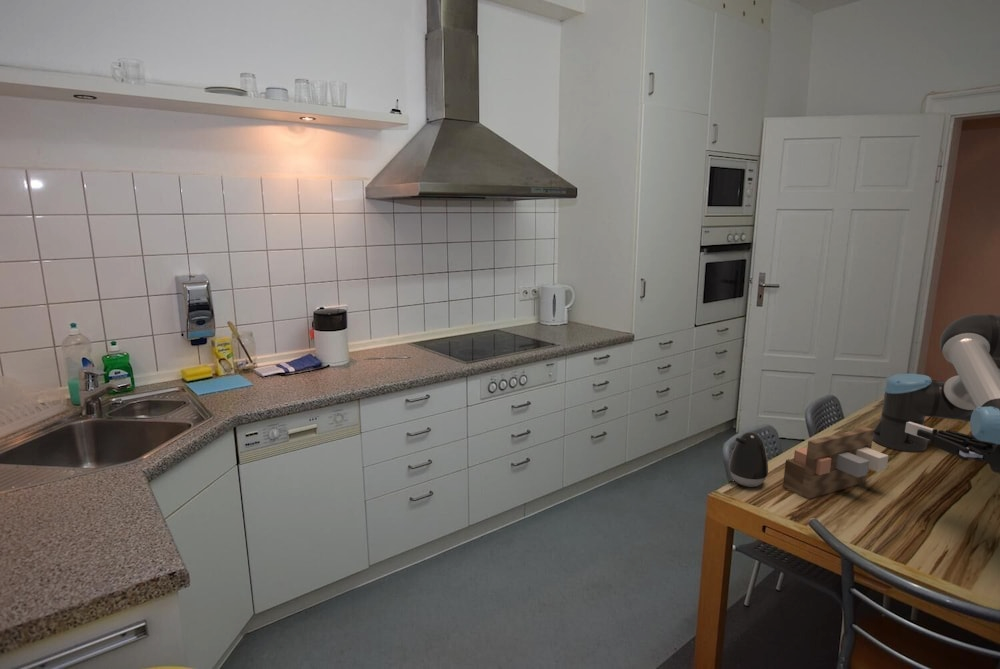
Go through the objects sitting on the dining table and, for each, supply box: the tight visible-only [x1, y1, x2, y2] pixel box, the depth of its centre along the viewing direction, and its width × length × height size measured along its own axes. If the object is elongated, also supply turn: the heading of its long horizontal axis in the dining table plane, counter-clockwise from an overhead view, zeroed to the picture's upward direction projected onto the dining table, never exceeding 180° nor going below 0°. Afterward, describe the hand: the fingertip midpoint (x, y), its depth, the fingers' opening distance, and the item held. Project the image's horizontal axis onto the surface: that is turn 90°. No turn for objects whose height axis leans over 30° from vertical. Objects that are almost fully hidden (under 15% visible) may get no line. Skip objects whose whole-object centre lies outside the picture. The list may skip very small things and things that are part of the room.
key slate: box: [835, 451, 869, 478], centre depth 154 cm, size 4×8×4 cm, turn 24°
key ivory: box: [856, 447, 889, 473], centre depth 157 cm, size 4×8×4 cm, turn 24°
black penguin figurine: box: [728, 431, 769, 488], centre depth 160 cm, size 10×10×15 cm
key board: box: [782, 426, 875, 500], centre depth 159 cm, size 24×8×16 cm, turn 114°
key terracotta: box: [793, 447, 831, 475], centre depth 155 cm, size 4×8×4 cm, turn 24°
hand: (907, 426), depth 147 cm, fingers closed
